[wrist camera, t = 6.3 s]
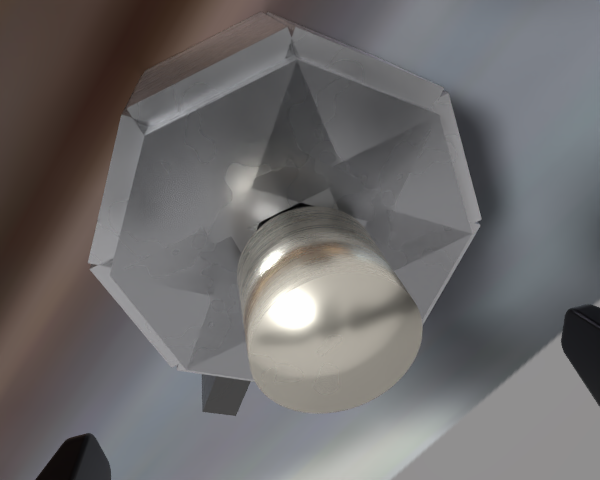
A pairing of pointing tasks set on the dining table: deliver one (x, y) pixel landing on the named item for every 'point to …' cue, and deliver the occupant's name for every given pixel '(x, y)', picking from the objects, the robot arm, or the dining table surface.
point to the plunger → (323, 312)
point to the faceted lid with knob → (270, 182)
